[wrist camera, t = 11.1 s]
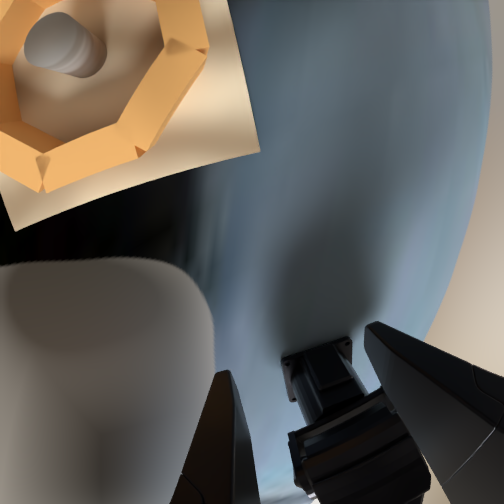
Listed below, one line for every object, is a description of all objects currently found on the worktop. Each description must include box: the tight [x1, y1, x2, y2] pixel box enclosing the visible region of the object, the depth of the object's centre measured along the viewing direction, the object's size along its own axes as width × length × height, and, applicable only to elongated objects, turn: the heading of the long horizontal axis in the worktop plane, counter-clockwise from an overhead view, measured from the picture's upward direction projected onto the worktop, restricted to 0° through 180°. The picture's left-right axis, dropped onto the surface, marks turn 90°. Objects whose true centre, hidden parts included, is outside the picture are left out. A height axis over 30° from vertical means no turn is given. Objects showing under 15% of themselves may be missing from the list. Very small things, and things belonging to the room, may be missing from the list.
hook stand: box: [0, 0, 260, 231], centre depth 10 cm, size 16×16×6 cm
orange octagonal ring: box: [0, 0, 210, 193], centre depth 10 cm, size 13×13×4 cm
